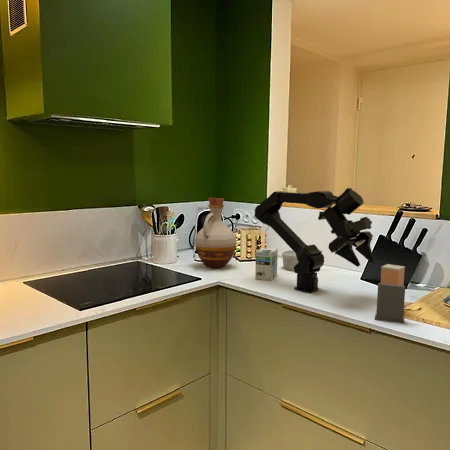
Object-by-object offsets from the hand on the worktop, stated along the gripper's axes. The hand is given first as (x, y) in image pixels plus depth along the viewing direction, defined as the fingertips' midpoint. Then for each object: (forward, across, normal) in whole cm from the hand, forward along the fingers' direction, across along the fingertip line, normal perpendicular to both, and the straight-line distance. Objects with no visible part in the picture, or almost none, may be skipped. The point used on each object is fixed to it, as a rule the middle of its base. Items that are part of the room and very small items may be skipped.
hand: (366, 263), depth 130 cm
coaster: (+17, +7, 0) cm, 18 cm away
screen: (+18, -9, -1) cm, 20 cm away
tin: (+15, 0, +2) cm, 15 cm away
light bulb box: (-18, +4, +41) cm, 45 cm away
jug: (-35, 0, +60) cm, 70 cm away
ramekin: (-18, +25, +41) cm, 51 cm away
